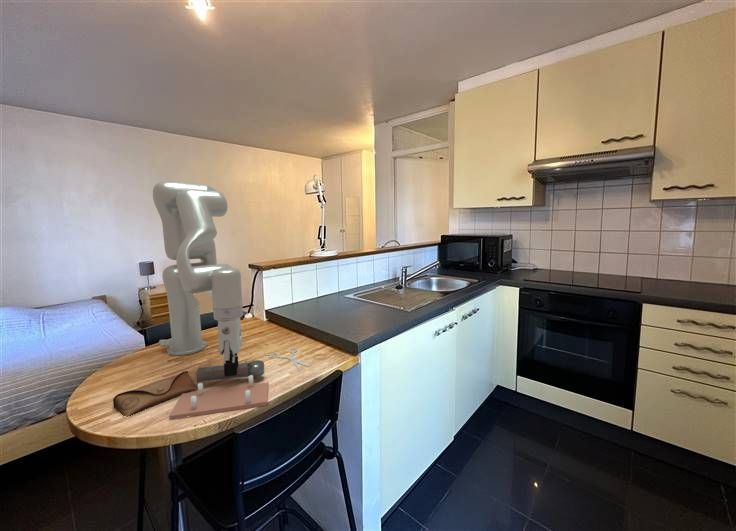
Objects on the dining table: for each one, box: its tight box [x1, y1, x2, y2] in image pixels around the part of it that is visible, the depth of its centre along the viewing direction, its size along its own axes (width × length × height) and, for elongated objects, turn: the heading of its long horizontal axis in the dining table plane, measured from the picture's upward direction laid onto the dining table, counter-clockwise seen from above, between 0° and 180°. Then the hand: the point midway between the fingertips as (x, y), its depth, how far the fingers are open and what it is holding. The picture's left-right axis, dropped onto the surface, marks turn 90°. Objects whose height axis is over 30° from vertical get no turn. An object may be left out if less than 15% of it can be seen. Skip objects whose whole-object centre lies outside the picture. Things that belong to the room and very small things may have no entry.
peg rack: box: [168, 375, 269, 420], centre depth 81 cm, size 22×10×4 cm, turn 105°
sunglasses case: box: [112, 370, 198, 418], centre depth 83 cm, size 18×7×7 cm, turn 142°
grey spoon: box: [195, 359, 265, 383], centre depth 90 cm, size 18×5×3 cm, turn 105°
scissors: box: [264, 347, 311, 372], centre depth 105 cm, size 11×1×20 cm
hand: (231, 371), depth 90 cm, fingers closed on grey spoon, 2 cm apart
